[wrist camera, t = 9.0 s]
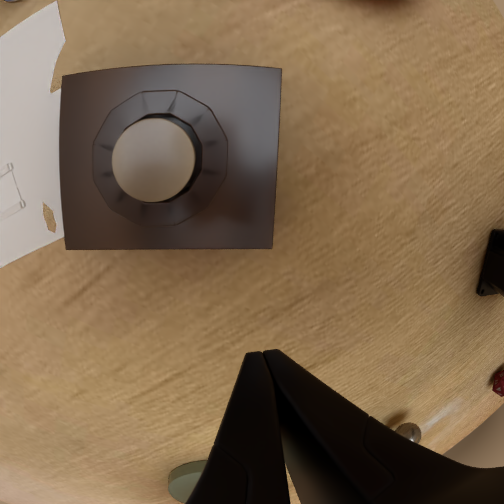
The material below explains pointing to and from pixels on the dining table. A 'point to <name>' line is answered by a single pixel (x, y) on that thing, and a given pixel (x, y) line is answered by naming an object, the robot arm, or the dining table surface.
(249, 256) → the dining table surface
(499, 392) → the dice
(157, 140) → the button
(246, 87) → the dimmer box
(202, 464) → the lamp
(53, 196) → the white flat sheet
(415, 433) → the lever
